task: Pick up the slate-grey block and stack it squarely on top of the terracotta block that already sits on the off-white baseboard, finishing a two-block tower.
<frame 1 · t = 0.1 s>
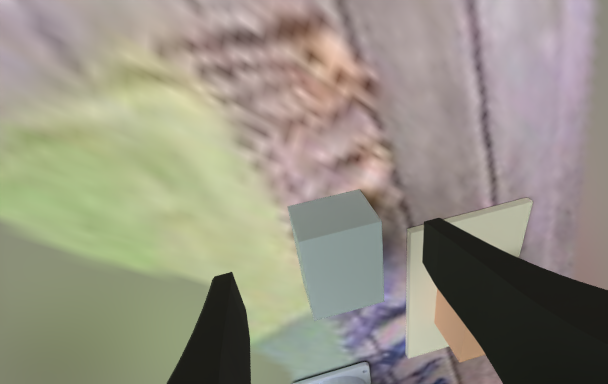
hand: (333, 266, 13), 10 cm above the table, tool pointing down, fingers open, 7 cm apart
slate brick: (328, 236, 25), on the table
baseboard: (458, 284, 31), on the table
terracotta brick: (462, 289, 30), point 1 cm above the table, touching baseboard
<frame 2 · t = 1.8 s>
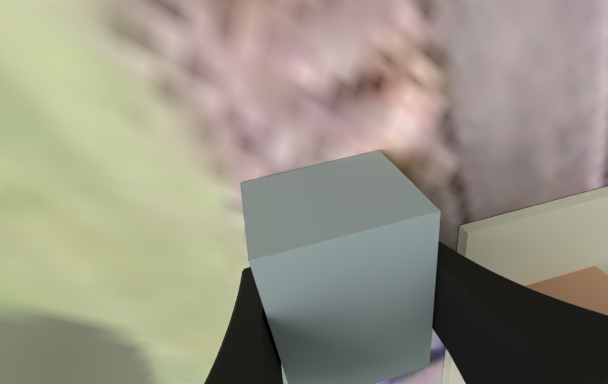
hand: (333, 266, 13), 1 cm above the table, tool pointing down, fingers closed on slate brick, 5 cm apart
slate brick: (323, 242, 14), on the table, touching gripper
baseboard: (528, 314, 20), on the table
terracotta brick: (536, 322, 19), point 1 cm above the table, touching baseboard
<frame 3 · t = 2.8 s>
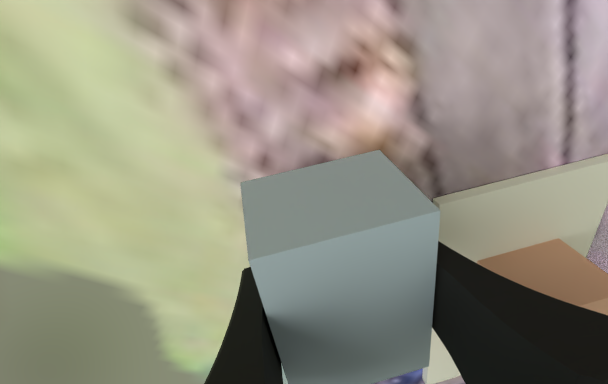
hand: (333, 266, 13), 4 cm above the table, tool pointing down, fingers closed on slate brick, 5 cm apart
slate brick: (323, 242, 14), point 2 cm above the table, touching gripper
baseboard: (501, 285, 21), on the table
terracotta brick: (508, 292, 21), point 1 cm above the table, touching baseboard
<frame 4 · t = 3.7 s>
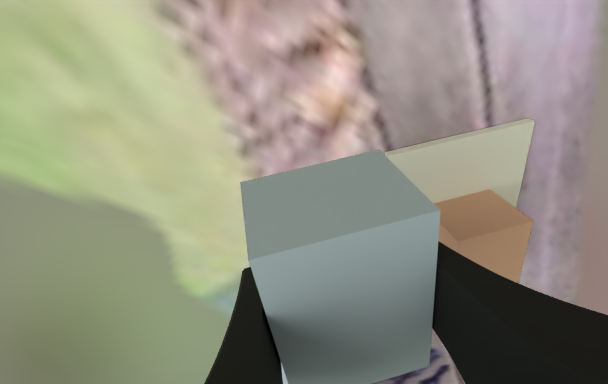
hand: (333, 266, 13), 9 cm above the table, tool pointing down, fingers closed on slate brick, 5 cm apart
slate brick: (323, 242, 14), point 8 cm above the table, touching gripper
baseboard: (448, 231, 26), on the table
terracotta brick: (453, 235, 26), point 1 cm above the table, touching baseboard
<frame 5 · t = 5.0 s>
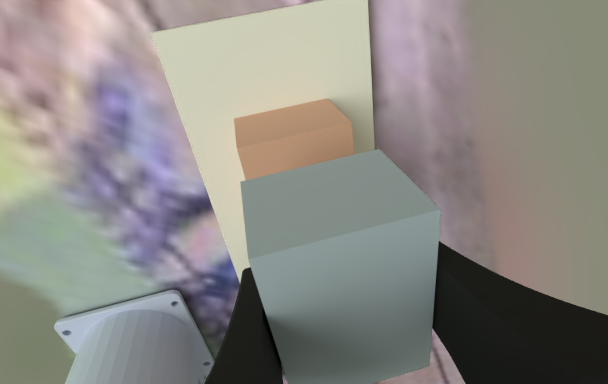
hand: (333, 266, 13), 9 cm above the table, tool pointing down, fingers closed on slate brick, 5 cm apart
slate brick: (323, 241, 14), point 8 cm above the table, touching gripper
baseboard: (290, 162, 20), on the table
terracotta brick: (292, 167, 20), point 1 cm above the table, touching baseboard
when the fingers open (7 cm above the table, at t = 5.9 s): slate brick stays where it is, resting on terracotta brick.
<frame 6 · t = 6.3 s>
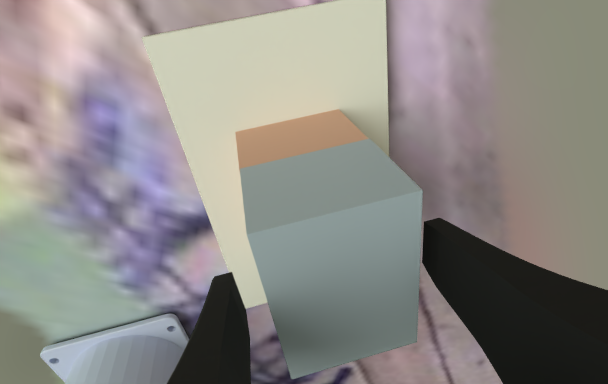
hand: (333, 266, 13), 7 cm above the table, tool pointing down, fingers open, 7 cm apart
slate brick: (318, 227, 15), point 5 cm above the table, touching terracotta brick
baseboard: (297, 178, 18), on the table
terracotta brick: (299, 183, 18), point 1 cm above the table, touching baseboard, slate brick
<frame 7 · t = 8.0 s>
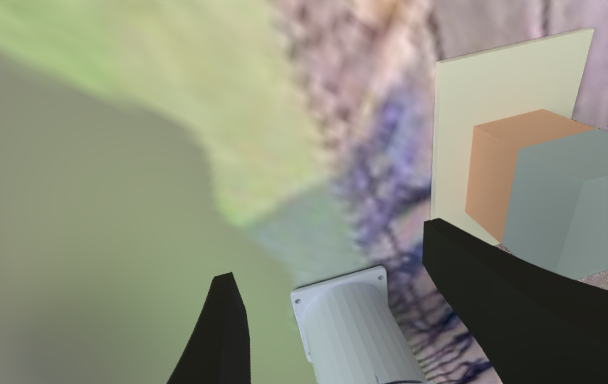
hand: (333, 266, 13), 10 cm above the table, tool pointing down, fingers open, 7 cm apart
slate brick: (546, 190, 21), point 5 cm above the table, touching terracotta brick
baseboard: (495, 160, 25), on the table
terracotta brick: (501, 163, 25), point 1 cm above the table, touching baseboard, slate brick
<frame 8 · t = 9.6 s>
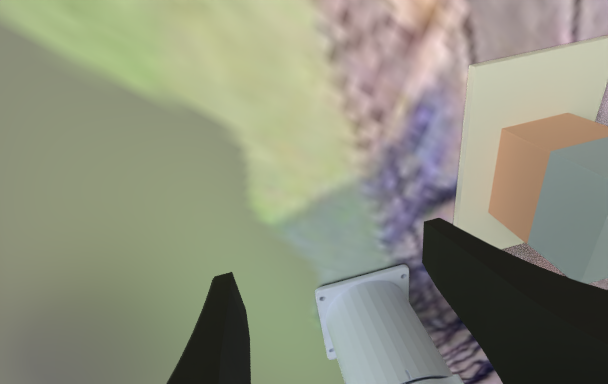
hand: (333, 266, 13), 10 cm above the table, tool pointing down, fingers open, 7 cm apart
slate brick: (573, 192, 22), point 5 cm above the table, touching terracotta brick
baseboard: (519, 162, 26), on the table
terracotta brick: (525, 165, 25), point 1 cm above the table, touching baseboard, slate brick
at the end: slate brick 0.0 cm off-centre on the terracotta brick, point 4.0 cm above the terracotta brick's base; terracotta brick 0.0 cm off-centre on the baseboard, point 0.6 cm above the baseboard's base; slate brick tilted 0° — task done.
